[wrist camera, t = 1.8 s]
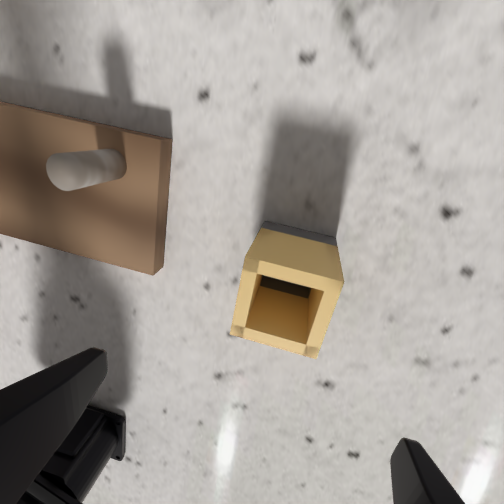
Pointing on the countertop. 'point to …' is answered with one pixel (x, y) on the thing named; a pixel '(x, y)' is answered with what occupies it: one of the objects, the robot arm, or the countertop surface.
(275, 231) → the loose sleeve
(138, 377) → the countertop surface
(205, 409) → the countertop surface
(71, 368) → the robot arm
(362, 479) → the countertop surface
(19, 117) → the pin board
